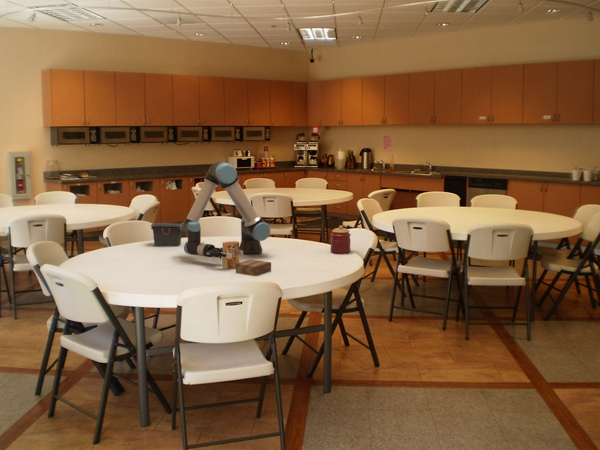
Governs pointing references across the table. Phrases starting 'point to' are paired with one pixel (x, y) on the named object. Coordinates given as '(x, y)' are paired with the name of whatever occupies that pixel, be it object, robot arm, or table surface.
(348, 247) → the canister
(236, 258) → the candy box
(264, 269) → the walnut base
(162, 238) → the storage bin
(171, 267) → the table surface
